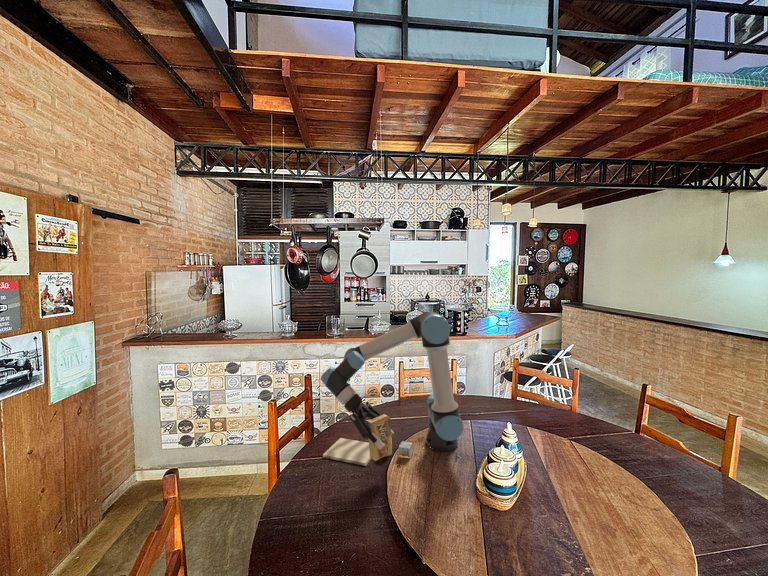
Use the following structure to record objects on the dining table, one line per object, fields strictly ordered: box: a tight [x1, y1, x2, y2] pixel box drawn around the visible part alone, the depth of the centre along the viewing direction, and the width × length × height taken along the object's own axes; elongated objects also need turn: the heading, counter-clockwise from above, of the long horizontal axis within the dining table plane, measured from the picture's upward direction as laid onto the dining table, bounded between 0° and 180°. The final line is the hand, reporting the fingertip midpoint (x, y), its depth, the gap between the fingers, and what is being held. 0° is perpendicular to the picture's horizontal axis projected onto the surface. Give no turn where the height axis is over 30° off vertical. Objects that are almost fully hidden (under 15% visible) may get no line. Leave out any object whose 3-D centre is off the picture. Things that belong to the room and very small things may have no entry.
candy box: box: [367, 413, 393, 462], centre depth 132 cm, size 9×4×15 cm, turn 129°
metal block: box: [398, 440, 414, 457], centre depth 147 cm, size 5×5×5 cm
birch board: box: [322, 437, 373, 467], centre depth 152 cm, size 22×16×1 cm
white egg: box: [385, 437, 393, 457], centre depth 149 cm, size 5×5×7 cm
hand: (387, 441), depth 131 cm, fingers closed on candy box, 9 cm apart
